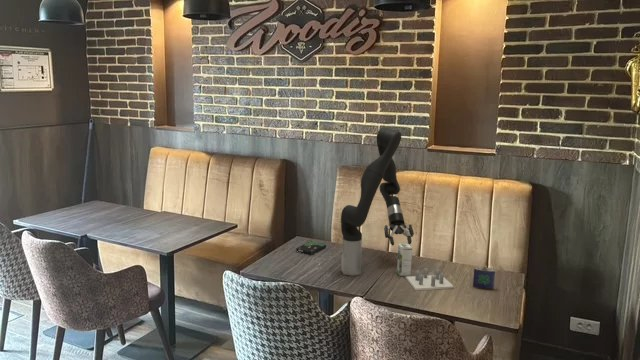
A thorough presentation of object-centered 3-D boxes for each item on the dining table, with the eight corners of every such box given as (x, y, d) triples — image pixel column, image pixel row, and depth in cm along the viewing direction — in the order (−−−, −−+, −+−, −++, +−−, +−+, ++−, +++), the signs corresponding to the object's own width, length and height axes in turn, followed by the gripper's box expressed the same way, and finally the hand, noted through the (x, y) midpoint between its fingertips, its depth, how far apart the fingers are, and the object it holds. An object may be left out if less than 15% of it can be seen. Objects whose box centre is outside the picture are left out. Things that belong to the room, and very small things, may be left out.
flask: (493, 287, 239) (495, 265, 237) (494, 290, 236) (495, 268, 234) (472, 285, 242) (474, 263, 239) (472, 288, 239) (474, 265, 237)
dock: (415, 290, 235) (416, 279, 234) (405, 278, 249) (406, 267, 248) (453, 288, 238) (454, 277, 237) (441, 276, 251) (442, 265, 250)
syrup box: (396, 271, 257) (397, 243, 254) (408, 271, 258) (409, 243, 255) (399, 276, 252) (400, 247, 249) (411, 275, 252) (412, 247, 249)
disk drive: (312, 256, 278) (326, 248, 291) (312, 251, 278) (326, 243, 290) (295, 253, 284) (310, 245, 296) (295, 248, 283) (310, 240, 296)
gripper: (383, 212, 262) (389, 241, 253) (410, 211, 264) (417, 240, 255) (380, 219, 268) (385, 248, 259) (407, 218, 270) (413, 247, 262)
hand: (401, 244), depth 257 cm, fingers open, 8 cm apart
